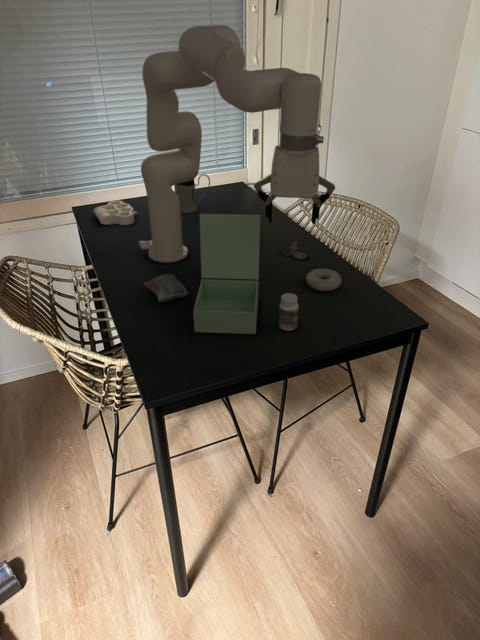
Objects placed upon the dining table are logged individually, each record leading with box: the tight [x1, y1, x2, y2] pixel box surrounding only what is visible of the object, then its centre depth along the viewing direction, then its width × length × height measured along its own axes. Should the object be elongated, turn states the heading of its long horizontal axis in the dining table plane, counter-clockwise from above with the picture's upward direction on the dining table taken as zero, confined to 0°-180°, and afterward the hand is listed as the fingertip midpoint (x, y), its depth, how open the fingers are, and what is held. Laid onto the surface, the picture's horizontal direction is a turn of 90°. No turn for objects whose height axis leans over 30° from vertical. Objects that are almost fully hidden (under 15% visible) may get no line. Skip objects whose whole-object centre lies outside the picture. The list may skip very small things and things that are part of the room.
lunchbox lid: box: [199, 213, 261, 281], centre depth 129 cm, size 17×15×5 cm
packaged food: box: [143, 273, 189, 303], centre depth 136 cm, size 9×12×5 cm
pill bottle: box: [278, 292, 300, 332], centre depth 122 cm, size 5×5×8 cm
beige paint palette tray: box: [92, 200, 139, 226], centre depth 185 cm, size 3×18×15 cm
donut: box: [305, 268, 342, 292], centre depth 141 cm, size 10×4×10 cm
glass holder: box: [173, 173, 211, 214], centre depth 189 cm, size 9×14×15 cm, turn 82°
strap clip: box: [280, 242, 308, 261], centre depth 157 cm, size 8×3×4 cm, turn 51°
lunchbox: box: [192, 278, 260, 335], centre depth 127 cm, size 16×15×6 cm
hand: (291, 221), depth 110 cm, fingers open, 9 cm apart
